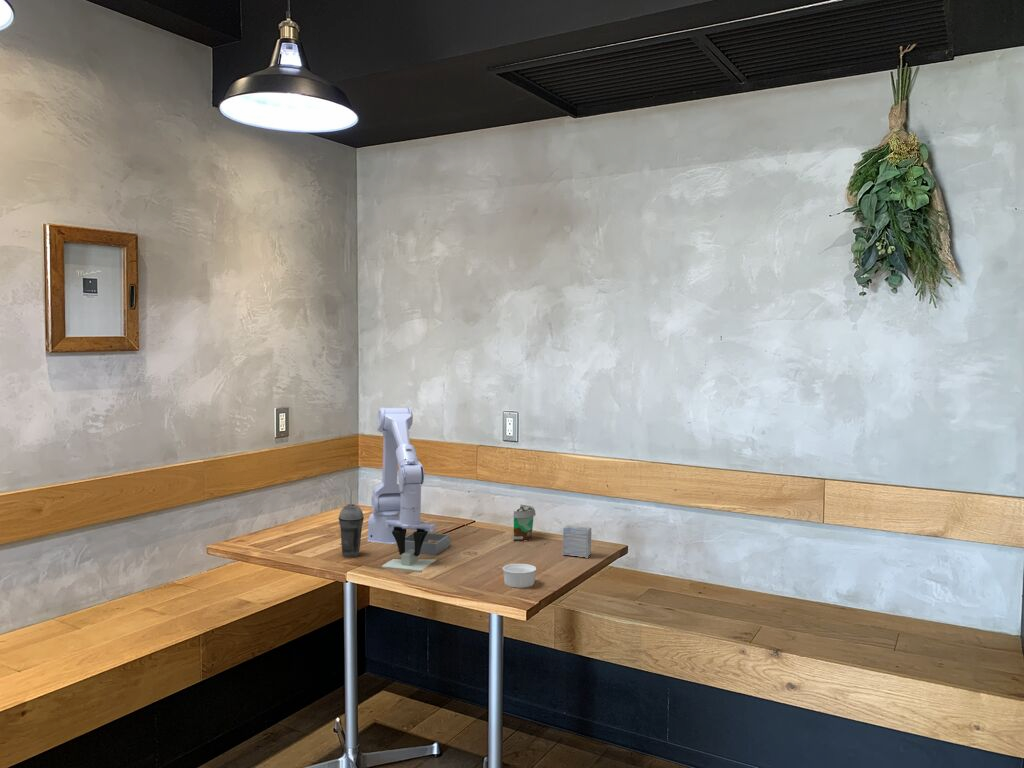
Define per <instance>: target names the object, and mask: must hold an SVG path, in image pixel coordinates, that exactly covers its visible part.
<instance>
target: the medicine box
mask: <svg viewBox="0 0 1024 768" xmlns="http://www.w3.org/2000/svg"><path fill="white" fill-rule="evenodd" d="M562 529H563V530H562V556H563V555H573V556H583V557H588V556H589V555H590V554H591V555H592V527H591V526H581V525H580V526H579V525H569V524H568V525H565V526H564V527H563V528H562ZM591 555H590V556H591ZM590 556H589V557H590Z"/></svg>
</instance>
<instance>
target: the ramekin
mask: <svg viewBox="0 0 1024 768" xmlns="http://www.w3.org/2000/svg"><path fill="white" fill-rule="evenodd" d="M502 572H503V580H504V581H503V582H504V584H505V585H506V586H508V587H510V588H514V587H517V589H526V588H530V587H532V586H534V584H535V582H536V581H535V580H536V572H537V567H536V566H535V565H532V564H529V563H527V564H526V563H509V564H506V565H504V566H503V567H502ZM525 587H526V588H525Z"/></svg>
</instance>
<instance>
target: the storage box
mask: <svg viewBox="0 0 1024 768" xmlns="http://www.w3.org/2000/svg"><path fill="white" fill-rule="evenodd" d="M414 532H415V531H413V532H411V533H409V534H408V535H407V534H406V537H405V552H406V551H408V550H410V549H411V550H415V541H414V535H413V533H414ZM428 540H438V542H436V543H428ZM450 546H451V535H450V534H445V533H434V532H428V533H427V535H426V537H425V539H424V541H423V544H422V547H421V550H420V555H426V556H428V555H429V556H437V555H439V554H440V553H441V552H444V550H446V549H448V548H450ZM397 552H398V553H399V549H398V548H397Z"/></svg>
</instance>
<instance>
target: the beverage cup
mask: <svg viewBox="0 0 1024 768" xmlns="http://www.w3.org/2000/svg"><path fill="white" fill-rule="evenodd" d="M352 498H353V497H352V488H350V489H349V504H347V505H345V506H343V508H342V509H340V512H339V515H338V523H339V528H340V540H341V554H342V557H343V558H347V559H348V558H358V556H360V549H361V538H362V527H363V524H364V519H365V518H364V513H363V510H362V509H361V507H360V506H358V505H356V504H353V503H352V501H353V500H352Z"/></svg>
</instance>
